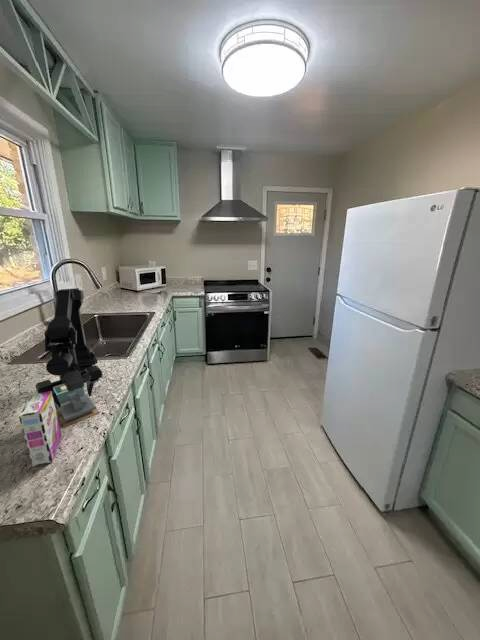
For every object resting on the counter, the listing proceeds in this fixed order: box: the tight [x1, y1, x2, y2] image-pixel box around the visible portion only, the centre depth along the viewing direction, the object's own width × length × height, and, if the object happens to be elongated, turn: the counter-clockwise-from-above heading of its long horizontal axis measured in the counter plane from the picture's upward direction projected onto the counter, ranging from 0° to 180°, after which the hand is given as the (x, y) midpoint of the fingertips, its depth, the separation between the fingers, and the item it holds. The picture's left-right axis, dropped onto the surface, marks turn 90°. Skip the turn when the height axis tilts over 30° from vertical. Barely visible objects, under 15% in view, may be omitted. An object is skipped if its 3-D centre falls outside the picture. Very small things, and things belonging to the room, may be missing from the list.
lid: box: [56, 392, 97, 421], centre depth 94 cm, size 10×9×6 cm
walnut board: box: [56, 397, 101, 428], centre depth 95 cm, size 12×11×1 cm
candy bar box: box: [18, 391, 62, 468], centre depth 75 cm, size 11×5×16 cm, turn 21°
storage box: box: [53, 385, 86, 408], centre depth 102 cm, size 10×9×6 cm
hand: (75, 401), depth 93 cm, fingers open, 9 cm apart
